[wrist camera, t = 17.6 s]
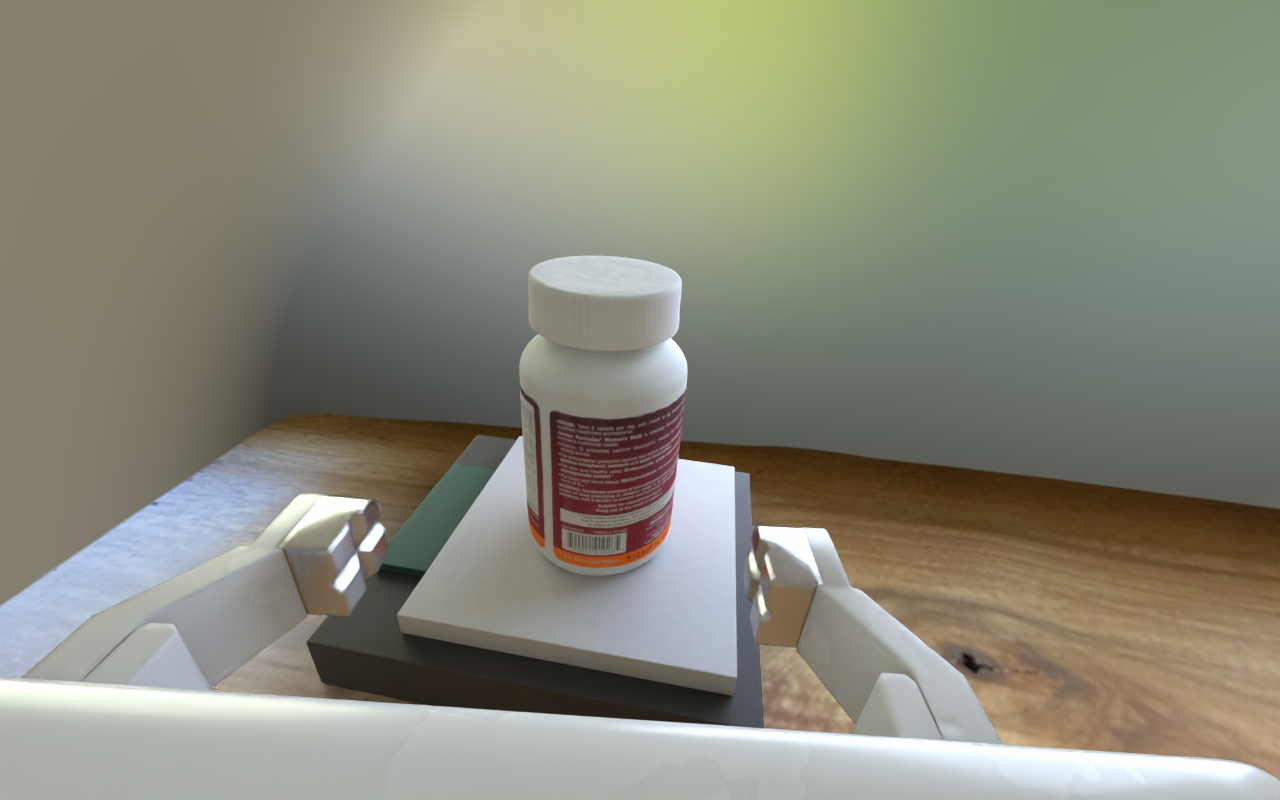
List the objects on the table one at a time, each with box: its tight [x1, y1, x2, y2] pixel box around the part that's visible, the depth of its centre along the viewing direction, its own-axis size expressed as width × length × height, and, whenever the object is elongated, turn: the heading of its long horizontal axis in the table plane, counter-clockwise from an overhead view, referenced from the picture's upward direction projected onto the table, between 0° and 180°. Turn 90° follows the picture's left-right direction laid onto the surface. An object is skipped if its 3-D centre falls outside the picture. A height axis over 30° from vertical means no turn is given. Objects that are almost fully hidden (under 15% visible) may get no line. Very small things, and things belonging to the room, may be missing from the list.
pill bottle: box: [519, 256, 687, 576], centre depth 20 cm, size 6×6×11 cm
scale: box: [307, 435, 764, 728], centre depth 23 cm, size 16×14×3 cm
